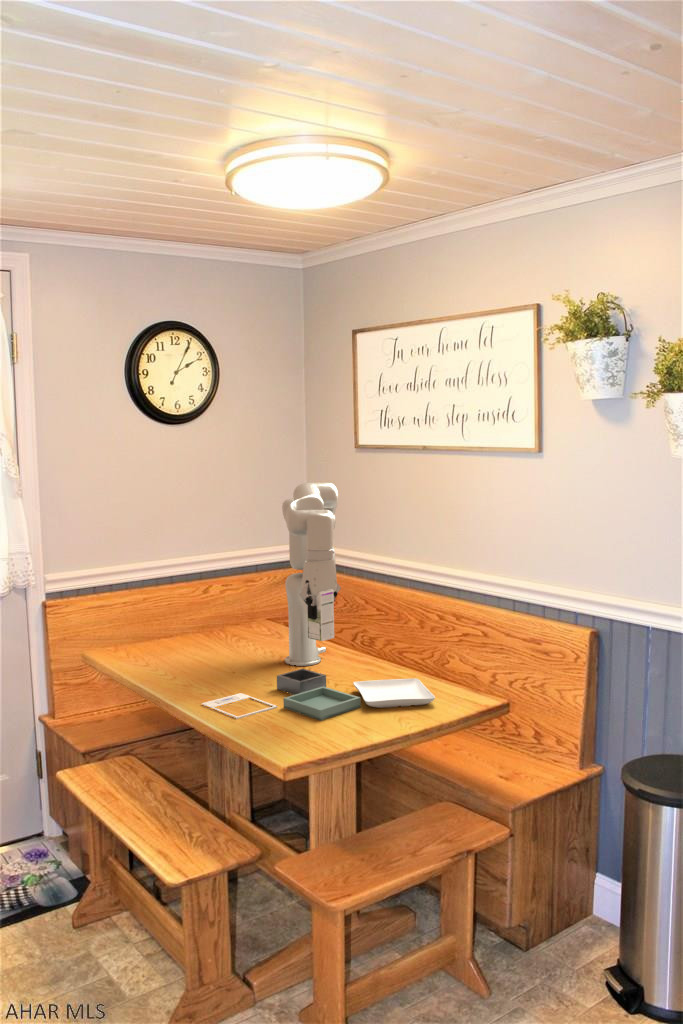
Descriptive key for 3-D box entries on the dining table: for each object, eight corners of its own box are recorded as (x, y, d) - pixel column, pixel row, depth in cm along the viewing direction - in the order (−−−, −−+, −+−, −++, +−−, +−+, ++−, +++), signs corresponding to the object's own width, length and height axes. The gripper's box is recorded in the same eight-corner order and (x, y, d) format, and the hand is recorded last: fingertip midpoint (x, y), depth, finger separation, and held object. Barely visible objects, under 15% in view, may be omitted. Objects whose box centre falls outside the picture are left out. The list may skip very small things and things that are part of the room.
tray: (323, 695, 263) (323, 686, 263) (360, 707, 251) (360, 697, 251) (283, 708, 252) (283, 698, 251) (320, 720, 240) (320, 710, 240)
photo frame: (241, 692, 265) (277, 705, 252) (241, 695, 265) (277, 709, 252) (201, 702, 255) (237, 716, 242) (201, 706, 255) (237, 720, 242)
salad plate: (417, 687, 272) (417, 676, 272) (436, 708, 251) (436, 696, 251) (352, 691, 268) (351, 680, 268) (365, 713, 248) (365, 701, 247)
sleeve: (302, 682, 278) (302, 668, 277) (326, 689, 270) (326, 675, 269) (276, 689, 270) (276, 675, 270) (300, 696, 262) (299, 682, 262)
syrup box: (335, 638, 250) (334, 589, 249) (320, 641, 246) (320, 591, 244) (321, 634, 254) (320, 586, 252) (306, 638, 250) (306, 589, 248)
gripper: (332, 551, 256) (333, 610, 258) (288, 557, 244) (289, 619, 246) (350, 553, 251) (350, 614, 252) (306, 560, 239) (307, 623, 240)
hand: (320, 616), depth 249 cm, fingers closed on syrup box, 5 cm apart
